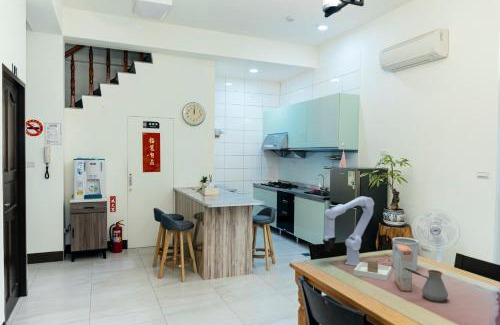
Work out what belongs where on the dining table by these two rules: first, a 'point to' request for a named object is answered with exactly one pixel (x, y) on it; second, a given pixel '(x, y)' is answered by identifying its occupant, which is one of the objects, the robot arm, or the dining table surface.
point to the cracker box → (403, 267)
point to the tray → (382, 272)
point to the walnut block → (373, 266)
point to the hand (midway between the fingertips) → (329, 249)
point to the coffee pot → (433, 286)
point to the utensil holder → (411, 244)
